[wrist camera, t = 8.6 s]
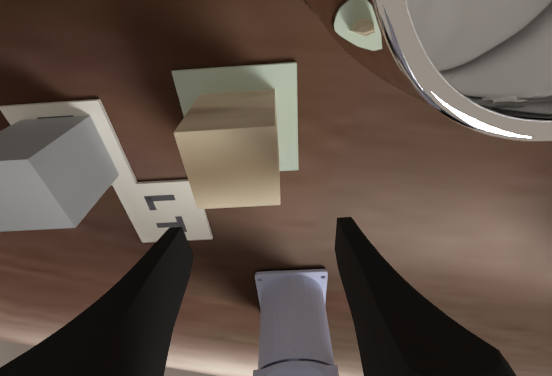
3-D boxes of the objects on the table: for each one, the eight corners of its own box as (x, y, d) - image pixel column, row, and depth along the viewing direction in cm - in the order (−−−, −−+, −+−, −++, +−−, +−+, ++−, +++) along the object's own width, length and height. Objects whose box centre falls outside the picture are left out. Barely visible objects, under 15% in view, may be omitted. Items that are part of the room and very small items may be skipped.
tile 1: (137, 182, 23) (135, 184, 23) (56, 186, 23) (54, 188, 23) (100, 98, 19) (97, 100, 18) (1, 105, 19) (-3, 107, 19)
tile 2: (213, 236, 27) (212, 239, 27) (143, 240, 27) (142, 242, 27) (196, 178, 23) (195, 180, 22) (114, 183, 23) (112, 185, 23)
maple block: (279, 154, 21) (280, 204, 16) (215, 158, 21) (197, 209, 16) (274, 88, 18) (274, 126, 13) (200, 93, 18) (173, 132, 13)
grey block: (119, 174, 22) (75, 227, 17) (59, 178, 22) (-1, 231, 17) (90, 115, 19) (27, 159, 14) (21, 120, 19) (-64, 164, 14)
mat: (298, 167, 22) (298, 169, 22) (200, 173, 22) (200, 175, 22) (296, 61, 17) (296, 63, 17) (172, 70, 18) (171, 71, 17)
